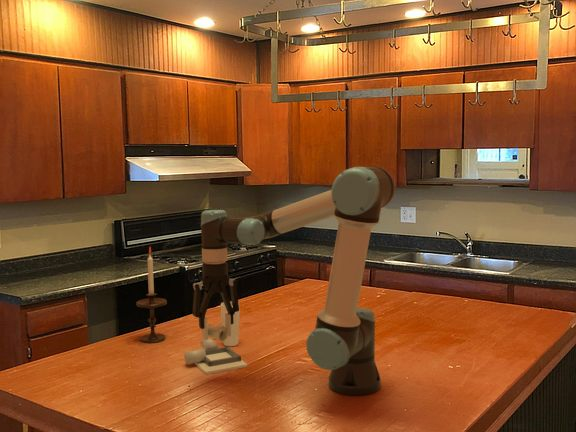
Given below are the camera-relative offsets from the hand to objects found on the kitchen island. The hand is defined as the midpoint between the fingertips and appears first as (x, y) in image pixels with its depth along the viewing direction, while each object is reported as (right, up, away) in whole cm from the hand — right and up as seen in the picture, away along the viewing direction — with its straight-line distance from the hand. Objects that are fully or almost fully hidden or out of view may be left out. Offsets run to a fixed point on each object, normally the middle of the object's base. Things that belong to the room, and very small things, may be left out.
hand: (216, 336), depth 182 cm
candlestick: (-28, -9, +41) cm, 51 cm away
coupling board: (-4, -11, +17) cm, 21 cm away
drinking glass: (+1, -10, +34) cm, 35 cm away
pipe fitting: (+1, -1, 0) cm, 1 cm away
